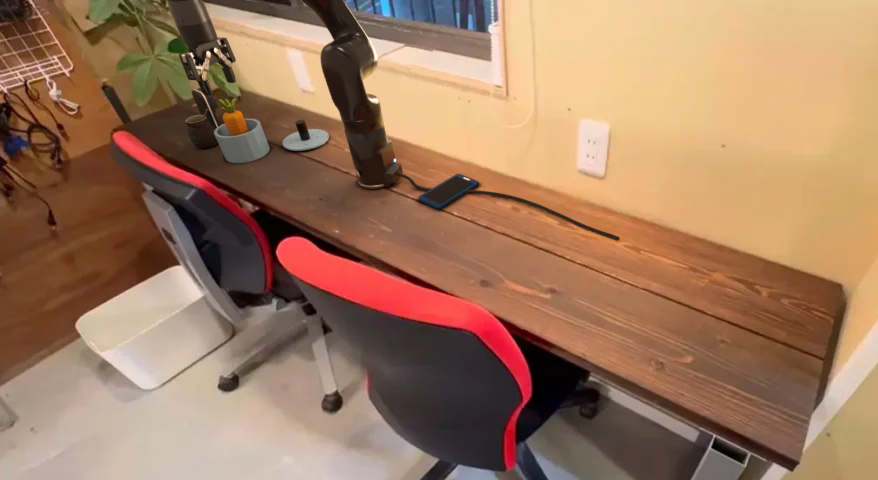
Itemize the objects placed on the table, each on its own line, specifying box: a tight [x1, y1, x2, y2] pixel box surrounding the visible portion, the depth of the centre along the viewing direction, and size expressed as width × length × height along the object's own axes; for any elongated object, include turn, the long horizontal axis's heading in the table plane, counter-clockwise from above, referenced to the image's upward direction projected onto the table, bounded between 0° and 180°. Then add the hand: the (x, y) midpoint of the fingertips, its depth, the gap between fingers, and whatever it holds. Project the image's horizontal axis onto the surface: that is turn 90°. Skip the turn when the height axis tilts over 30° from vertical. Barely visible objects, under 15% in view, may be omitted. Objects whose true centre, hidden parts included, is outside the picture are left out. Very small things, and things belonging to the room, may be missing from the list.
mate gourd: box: [184, 108, 218, 150], centre depth 145 cm, size 7×8×10 cm
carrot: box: [217, 98, 248, 136], centre depth 138 cm, size 5×5×15 cm
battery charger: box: [191, 87, 223, 130], centre depth 153 cm, size 7×4×11 cm, turn 50°
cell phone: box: [418, 173, 480, 210], centre depth 122 cm, size 7×14×1 cm, turn 140°
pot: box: [214, 118, 271, 164], centre depth 140 cm, size 12×12×7 cm
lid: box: [282, 119, 330, 152], centre depth 144 cm, size 13×13×6 cm
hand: (220, 88), depth 131 cm, fingers open, 8 cm apart
